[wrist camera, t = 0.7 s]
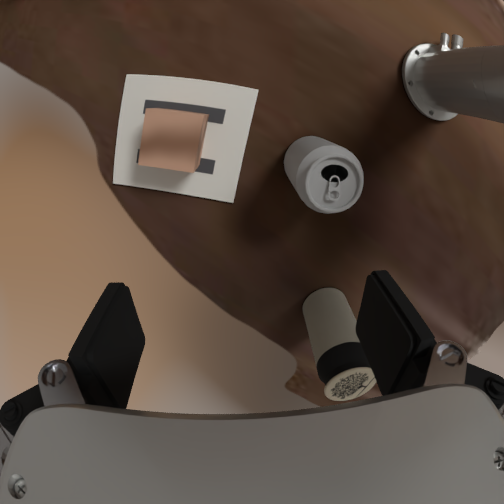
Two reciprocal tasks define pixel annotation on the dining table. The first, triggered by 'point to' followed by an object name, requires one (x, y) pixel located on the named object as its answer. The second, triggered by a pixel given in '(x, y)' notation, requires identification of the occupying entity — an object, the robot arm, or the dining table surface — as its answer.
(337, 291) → the travel mug
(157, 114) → the brown block
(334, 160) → the can
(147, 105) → the letter card
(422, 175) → the dining table surface
